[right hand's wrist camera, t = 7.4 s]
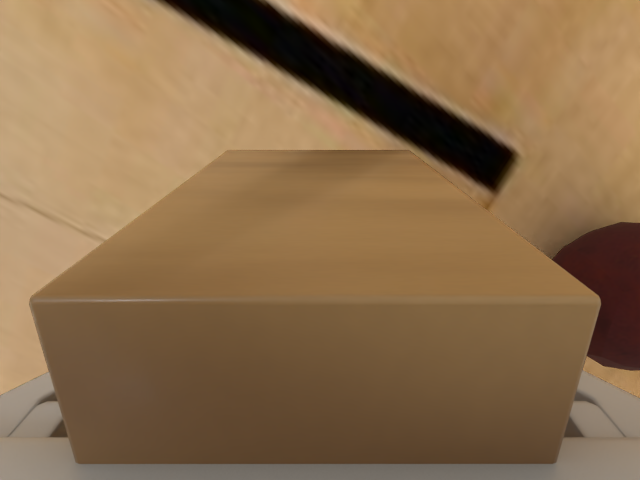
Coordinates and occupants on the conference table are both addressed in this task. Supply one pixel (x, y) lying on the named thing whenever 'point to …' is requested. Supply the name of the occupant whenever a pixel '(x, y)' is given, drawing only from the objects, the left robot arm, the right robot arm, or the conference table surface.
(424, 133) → the conference table surface
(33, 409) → the right robot arm
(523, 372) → the bar
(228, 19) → the conference table surface
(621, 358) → the potato
